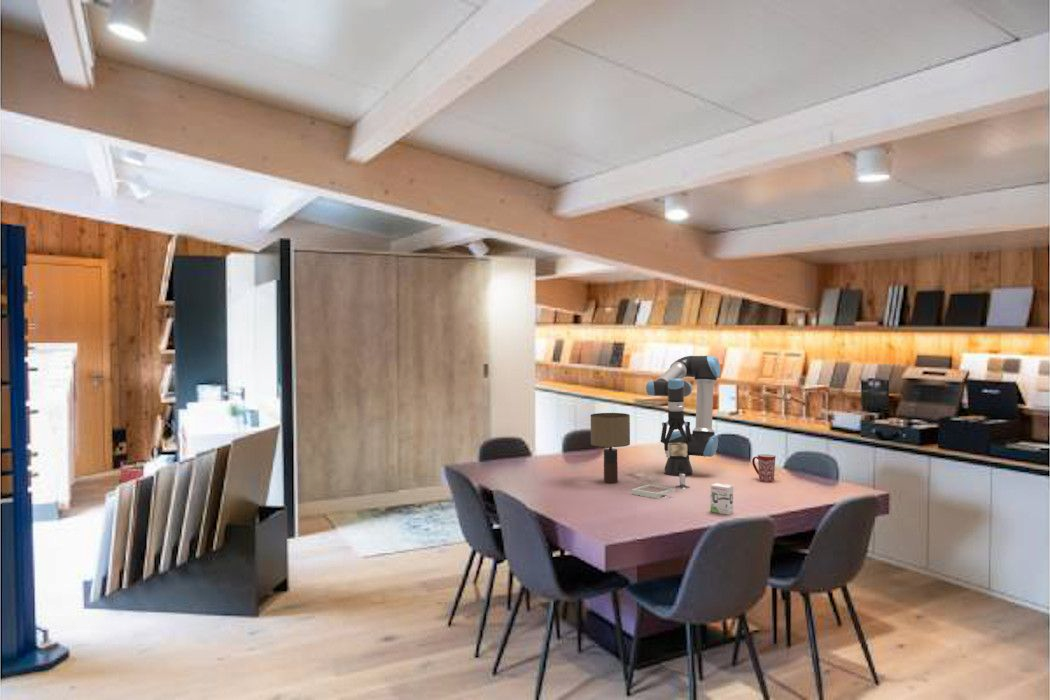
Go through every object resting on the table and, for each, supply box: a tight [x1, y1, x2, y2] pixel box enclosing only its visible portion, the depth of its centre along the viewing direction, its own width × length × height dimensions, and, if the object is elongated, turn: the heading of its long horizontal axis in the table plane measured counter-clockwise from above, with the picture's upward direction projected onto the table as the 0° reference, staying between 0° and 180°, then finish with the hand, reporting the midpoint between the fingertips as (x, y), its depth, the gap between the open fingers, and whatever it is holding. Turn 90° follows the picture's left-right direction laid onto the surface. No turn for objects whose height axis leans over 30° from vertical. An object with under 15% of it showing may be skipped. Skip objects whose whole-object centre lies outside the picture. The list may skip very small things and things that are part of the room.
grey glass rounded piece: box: [674, 473, 690, 490], centre depth 351 cm, size 7×7×8 cm
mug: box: [751, 453, 777, 483], centre depth 371 cm, size 13×9×14 cm
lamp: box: [590, 412, 631, 484], centre depth 371 cm, size 20×20×35 cm
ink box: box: [710, 482, 734, 515], centre depth 307 cm, size 9×5×12 cm, turn 48°
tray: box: [630, 484, 677, 500], centre depth 344 cm, size 15×15×2 cm
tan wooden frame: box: [664, 443, 687, 456], centre depth 349 cm, size 8×9×5 cm
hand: (676, 456), depth 349 cm, fingers closed on tan wooden frame, 8 cm apart
